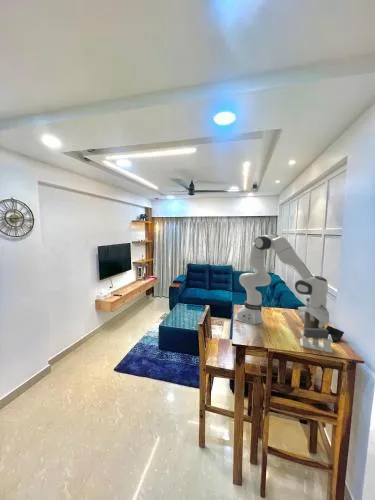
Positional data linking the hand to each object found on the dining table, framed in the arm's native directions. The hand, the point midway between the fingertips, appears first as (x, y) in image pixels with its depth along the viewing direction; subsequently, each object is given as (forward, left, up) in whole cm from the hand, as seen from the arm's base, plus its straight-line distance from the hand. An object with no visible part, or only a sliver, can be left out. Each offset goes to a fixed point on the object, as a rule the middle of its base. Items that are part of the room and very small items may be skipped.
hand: (316, 323), depth 136 cm
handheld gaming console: (+9, +14, -15) cm, 22 cm away
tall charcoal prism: (0, 0, -8) cm, 8 cm away
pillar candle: (0, +27, -15) cm, 30 cm away
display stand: (0, 0, -14) cm, 14 cm away
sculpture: (+2, +48, -15) cm, 51 cm away
